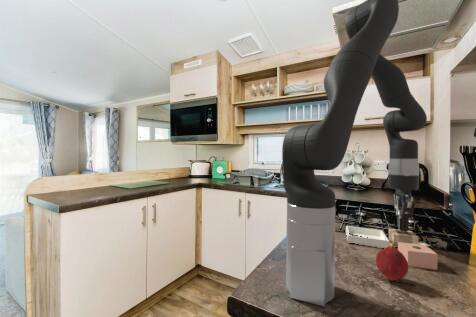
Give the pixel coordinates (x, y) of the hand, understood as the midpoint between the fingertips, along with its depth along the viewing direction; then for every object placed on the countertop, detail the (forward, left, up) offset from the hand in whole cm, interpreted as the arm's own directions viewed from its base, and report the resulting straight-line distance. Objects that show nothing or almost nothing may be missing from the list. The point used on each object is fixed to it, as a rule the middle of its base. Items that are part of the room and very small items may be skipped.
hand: (402, 229), depth 67 cm
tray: (0, +10, -5) cm, 11 cm away
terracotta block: (-12, 0, -5) cm, 13 cm away
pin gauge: (0, 0, -4) cm, 4 cm away
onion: (-25, +8, -5) cm, 27 cm away
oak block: (0, 0, -5) cm, 5 cm away
